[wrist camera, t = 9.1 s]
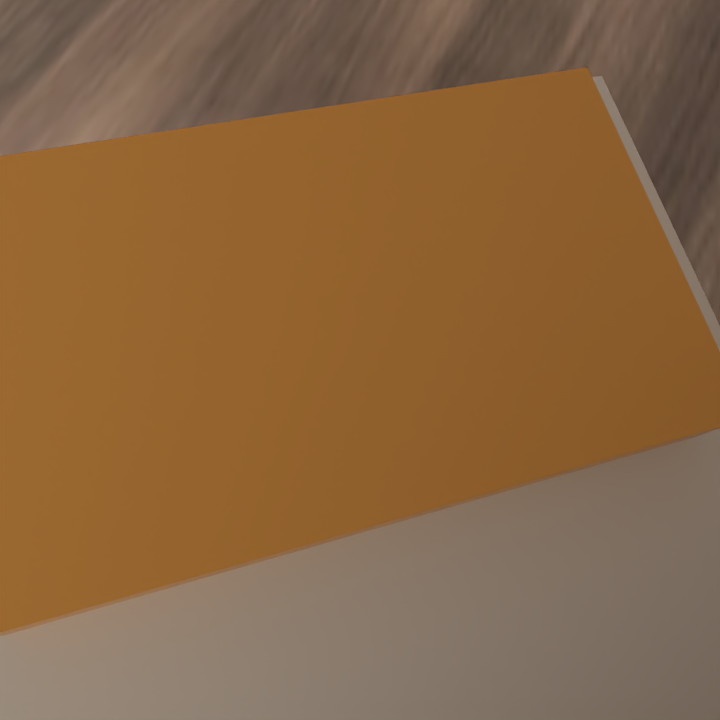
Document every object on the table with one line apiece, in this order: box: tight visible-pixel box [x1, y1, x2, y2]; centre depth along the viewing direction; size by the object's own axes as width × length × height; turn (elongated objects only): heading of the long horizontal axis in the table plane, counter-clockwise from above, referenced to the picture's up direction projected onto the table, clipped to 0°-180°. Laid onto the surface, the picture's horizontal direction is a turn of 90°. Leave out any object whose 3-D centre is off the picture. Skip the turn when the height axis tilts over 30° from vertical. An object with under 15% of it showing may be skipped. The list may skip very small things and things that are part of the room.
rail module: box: [0, 67, 720, 720], centre depth 8 cm, size 5×6×11 cm
